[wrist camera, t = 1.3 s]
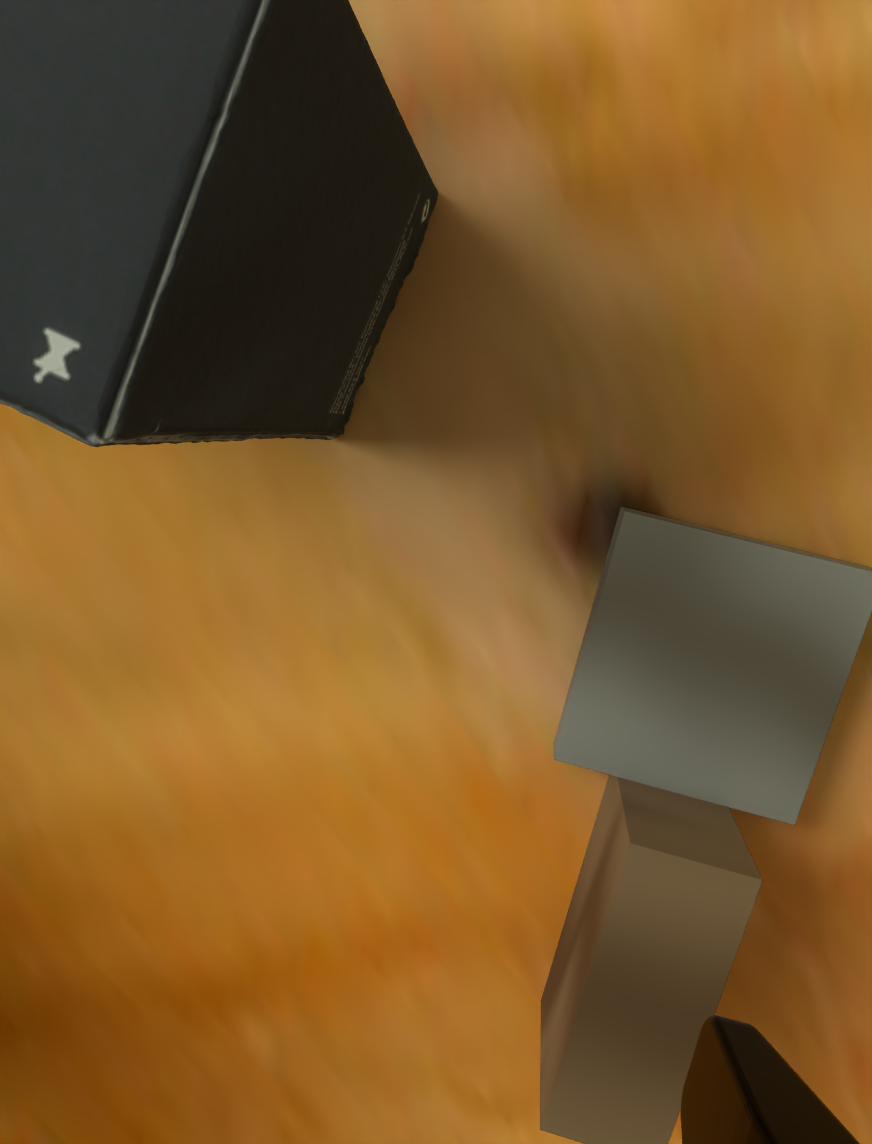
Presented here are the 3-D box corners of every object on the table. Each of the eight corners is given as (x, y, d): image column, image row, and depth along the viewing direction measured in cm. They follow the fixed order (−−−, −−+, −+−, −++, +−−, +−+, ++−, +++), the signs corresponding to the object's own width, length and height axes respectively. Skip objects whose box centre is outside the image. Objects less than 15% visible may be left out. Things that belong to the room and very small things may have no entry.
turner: (696, 1045, 21) (730, 1189, 17) (485, 982, 22) (472, 1109, 18) (866, 566, 18) (954, 607, 14) (620, 506, 19) (640, 530, 15)
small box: (456, 174, 18) (336, -148, 8) (341, 448, 19) (112, 485, 9) (29, -20, 18) (-629, -572, 8) (-51, 263, 20) (-693, 100, 9)
